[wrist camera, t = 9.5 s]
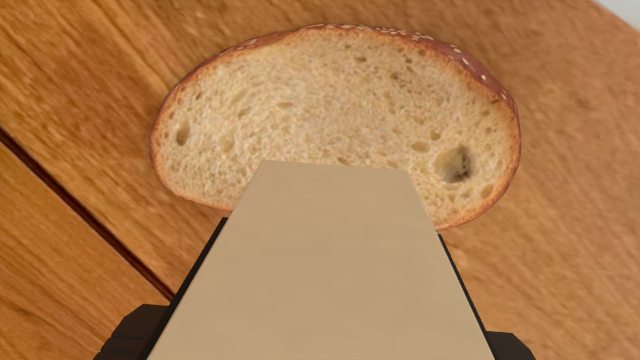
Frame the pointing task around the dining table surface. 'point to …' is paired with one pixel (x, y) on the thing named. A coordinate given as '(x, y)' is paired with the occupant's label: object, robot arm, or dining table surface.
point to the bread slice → (341, 117)
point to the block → (325, 275)
